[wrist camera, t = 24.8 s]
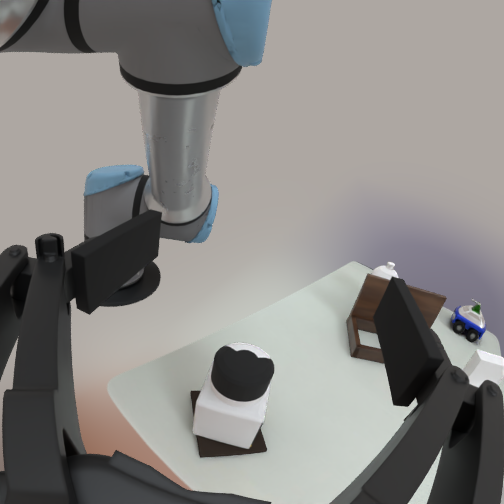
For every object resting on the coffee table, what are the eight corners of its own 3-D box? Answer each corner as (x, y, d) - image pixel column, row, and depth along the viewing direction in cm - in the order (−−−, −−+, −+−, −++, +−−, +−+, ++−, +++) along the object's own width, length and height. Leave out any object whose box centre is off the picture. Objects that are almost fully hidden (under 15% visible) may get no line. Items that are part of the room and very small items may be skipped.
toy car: (450, 315, 70) (464, 289, 66) (479, 333, 63) (494, 307, 59) (446, 327, 63) (462, 298, 60) (478, 346, 56) (495, 318, 53)
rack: (434, 371, 46) (465, 325, 42) (350, 356, 48) (378, 303, 44) (421, 338, 57) (445, 296, 52) (346, 321, 59) (367, 273, 54)
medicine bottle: (249, 450, 28) (278, 394, 23) (191, 434, 28) (199, 373, 24) (258, 407, 34) (284, 344, 30) (207, 392, 35) (219, 327, 30)
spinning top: (390, 308, 68) (409, 268, 63) (378, 317, 63) (398, 273, 58) (368, 293, 73) (385, 254, 68) (354, 300, 68) (372, 257, 63)
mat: (190, 393, 35) (191, 390, 35) (247, 392, 37) (248, 389, 37) (200, 457, 26) (200, 455, 26) (266, 451, 29) (267, 449, 28)
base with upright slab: (443, 419, 34) (485, 371, 30) (437, 386, 42) (471, 338, 38) (476, 425, 32) (516, 379, 28) (468, 393, 40) (501, 349, 36)
